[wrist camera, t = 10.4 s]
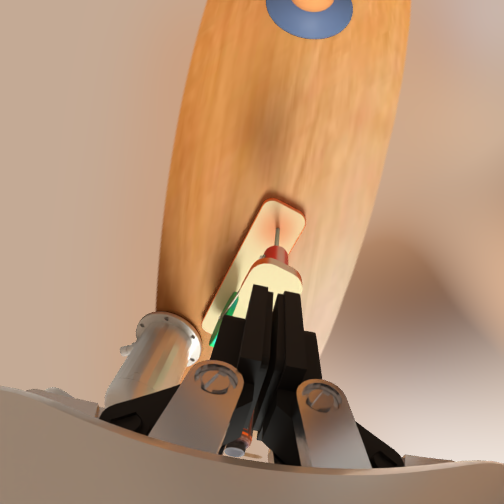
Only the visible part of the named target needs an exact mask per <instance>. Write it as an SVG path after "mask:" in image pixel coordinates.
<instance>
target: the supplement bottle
mask: <svg viewBox="0 0 504 504" xmlns="http://www.w3.org/2000/svg"><path fill="white" fill-rule="evenodd" d="M253 415H254V411H253V414H252V417H251V419H250V422H249V425H248V428H247V429H244V428H243V431H242V434H241V437H240V438H238V439H236V440H234V441H232V442H230V443H228V444H227V445H226V448H225V451H224V452H225V453H226V454H227V455H229V456H233V457H241V456H243V455H244V454H245V450H246V448H248V447H249V446H250V444H251V441H252V434H253V430H252V424H253Z"/></svg>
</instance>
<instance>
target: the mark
mask: <svg viewBox="0 0 504 504" xmlns="http://www.w3.org/2000/svg"><path fill="white" fill-rule="evenodd" d="M266 6H267V10H268V13H269V15H270V17H271V18H272V20H273V21H274V22H275V23H276V24H277V25H278V26H279V27H280V28H282V29H283V30H284V31H286V32H288V33H290V34H292V35H295V36H298V37H301V38H307V39H323V38H328V37H331V36H334V35H336V34H338V33H339V32H341V31H342V30H343V29H344V28H345V27H346V26H347V25H348V23H349V22H350V20H351V17H352V13H353V6H352V2H351V0H334V2H333V3H332V5H331V6H330V7H329V8H327V9H325V10H323V11H320V12H308V11H305V10H302V9H300V8H299V7H297V6H296V5H295V4H294V3H293V2H292V0H266Z"/></svg>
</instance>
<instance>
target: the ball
mask: <svg viewBox="0 0 504 504" xmlns="http://www.w3.org/2000/svg"><path fill="white" fill-rule="evenodd" d="M292 2H293V3H294V4H295V5H296V6H297V7H299V8H300V9H302V10H305V11H308V12H320V11H323V10H325V9H327V8H329V7H330V6H331V5H332V3H333V2H334V0H292Z"/></svg>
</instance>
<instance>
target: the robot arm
mask: <svg viewBox="0 0 504 504" xmlns="http://www.w3.org/2000/svg"><path fill="white" fill-rule="evenodd" d="M136 337H137V341H136V342H135V343H132V345H130V346H129V345H128V346H124V347H121V348H120V353H121V355H122V356H128V357H127V359H126V360H125V362H124V364H123V365H122V367H121V368H120V370H119V371H118V373H117V375H116V376H115V378H114V380H113V381H112V383H111V384H110V386H109V388H108V389H107V392H106V395H105V408H101V407H99V406H98V403H94V402H89V401H84V400H80V399H75V398H74V397H72V396H71V395H69V394H68V393H66V392H65V391H63V390H61V389H59V388H53V387H52V388H48V389H46V390H44V391H43V390H38V389H31V390H27V391H23V390H20V389H15V388H9V387H4V386H0V504H504V464H503V463H499V462H494V461H481V460H477V461H458V462H454V461H452V460H443V459H433V458H426V457H418V456H411V455H404V456H403V457H401V456H400V455H399V454H398V453H397V452H396V451H395V450H394V449H392V448H390V447H389V446H388V445H387V444H385V443H384V442H383V441H381V440H380V439H378V438H377V437H376V436H374V435H373V434H372V433H370V432H369V431H368V430H366V429H365V428H364V427H362V426H361V425H360V424H358V423H357V422H356V421H355V420H354V417H353V414H352V411H351V409H350V406H349V404H348V401H347V398H346V396H345V394H344V393H343V391H342V390H341V389H340V388H339V387H338V386H336V385H334V384H333V383H331V382H328V381H326V380H322V374H321V367H320V360H319V352H318V345H317V339H316V334H315V333H314V332H309V331H304V328H303V318H302V308H301V298H300V294H299V293H294V292H289V291H284V293H283V294H279V293H278V294H277V297H276V301H275V305H274V308H273V292H270V291H268V287H265V286H261V285H256V284H253V287H252V292H251V296H250V300H249V305H248V309H247V313H246V318H245V319H244V318H239V317H234V316H230V315H226V314H224V316H223V319H222V322H221V325H220V329H219V332H218V335H217V338H216V342H215V345H214V348H213V351H212V355H211V358H210V360H206V361H201V362H199V363H197V364H195V365H194V366H193V367H192V368H191V369H190V370H189V372H188V374H187V375H186V377H185V378H184V380H183V382H182V383H181V384H179V383H180V381H181V378H182V376H183V373H184V371H185V368H186V367H188V366H190V365H192V364H194V363H195V362H196V361H197V360H198V358H199V357H200V354H201V351H202V342H201V338H200V336H199V334H198V332H197V331H196V329H195V328H194V327H193V326H192V325H191V324H190V323H189V322H188V321H186V320H185V319H183V318H182V317H180V316H178V315H175V314H172V313H169V312H161V311H157V312H152V313H149V314H147V315H146V316H144V317H143V318H142V319H141V321H140V322H139V324H138V326H137V329H136ZM253 411H254V415H253V424H252V430H256V431H258V434H257V440H260V441H262V442H263V443H264V444H265V445H266V446H267V447H268V448H269V450H268V462H269V463H264V462H258V461H251V460H244V459H239V458H233V457H228V456H223V453H224V451H225V448H226V445H227V444H228V443H230V442H232V441H234V440H236V439H238V438H240V437H241V434H242V431H243V428H244V429H247V428H248V425H249V422H250V419H251V417H252V414H253Z"/></svg>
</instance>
